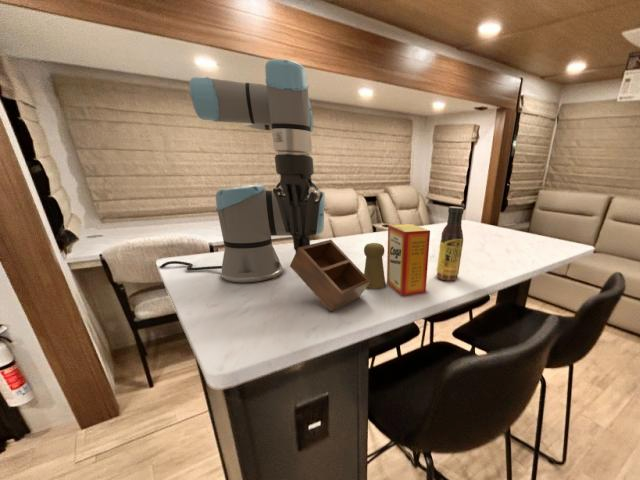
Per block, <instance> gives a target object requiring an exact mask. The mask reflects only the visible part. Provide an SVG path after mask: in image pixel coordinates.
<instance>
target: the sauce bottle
mask: <svg viewBox="0 0 640 480" xmlns="http://www.w3.org/2000/svg"><path fill="white" fill-rule="evenodd" d="M464 210H465V208H464V207H463V206H448V209H447V212H448V215H447V216H448V217H447V221H446V225H445V226H444V227H443V228H442V229H443V230H442V231H441V238H440V241H439V249H438V259H437V267H436V277H437V279H439V280H442V281H451V282H452V281H455V280H457V279H458V275H459V273H460V267H461V258H462V252H463V247H464V246H463V245H464V234H463V229H462V223H463V222H462V221H463V214H464V212H465V211H464Z"/></svg>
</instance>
